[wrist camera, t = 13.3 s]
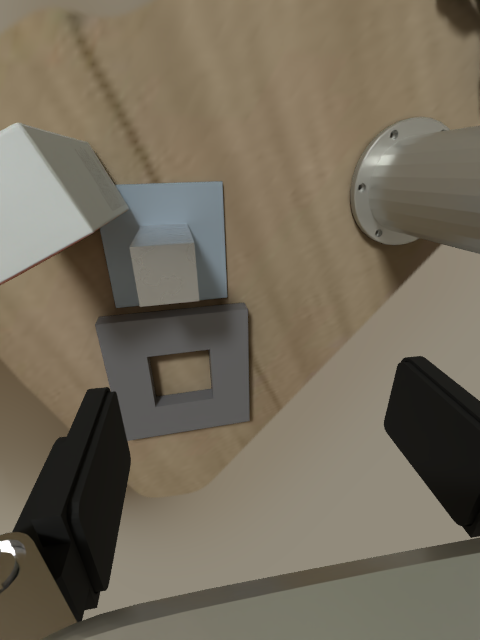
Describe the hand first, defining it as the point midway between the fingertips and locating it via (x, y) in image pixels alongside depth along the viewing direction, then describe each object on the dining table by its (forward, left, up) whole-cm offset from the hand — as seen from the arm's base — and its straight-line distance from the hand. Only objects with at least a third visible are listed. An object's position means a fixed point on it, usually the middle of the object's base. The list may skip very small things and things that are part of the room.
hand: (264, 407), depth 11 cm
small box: (+11, -5, -26) cm, 28 cm away
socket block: (+3, +15, -26) cm, 30 cm away
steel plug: (+3, 0, -25) cm, 26 cm away
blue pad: (+3, 0, -26) cm, 26 cm away
